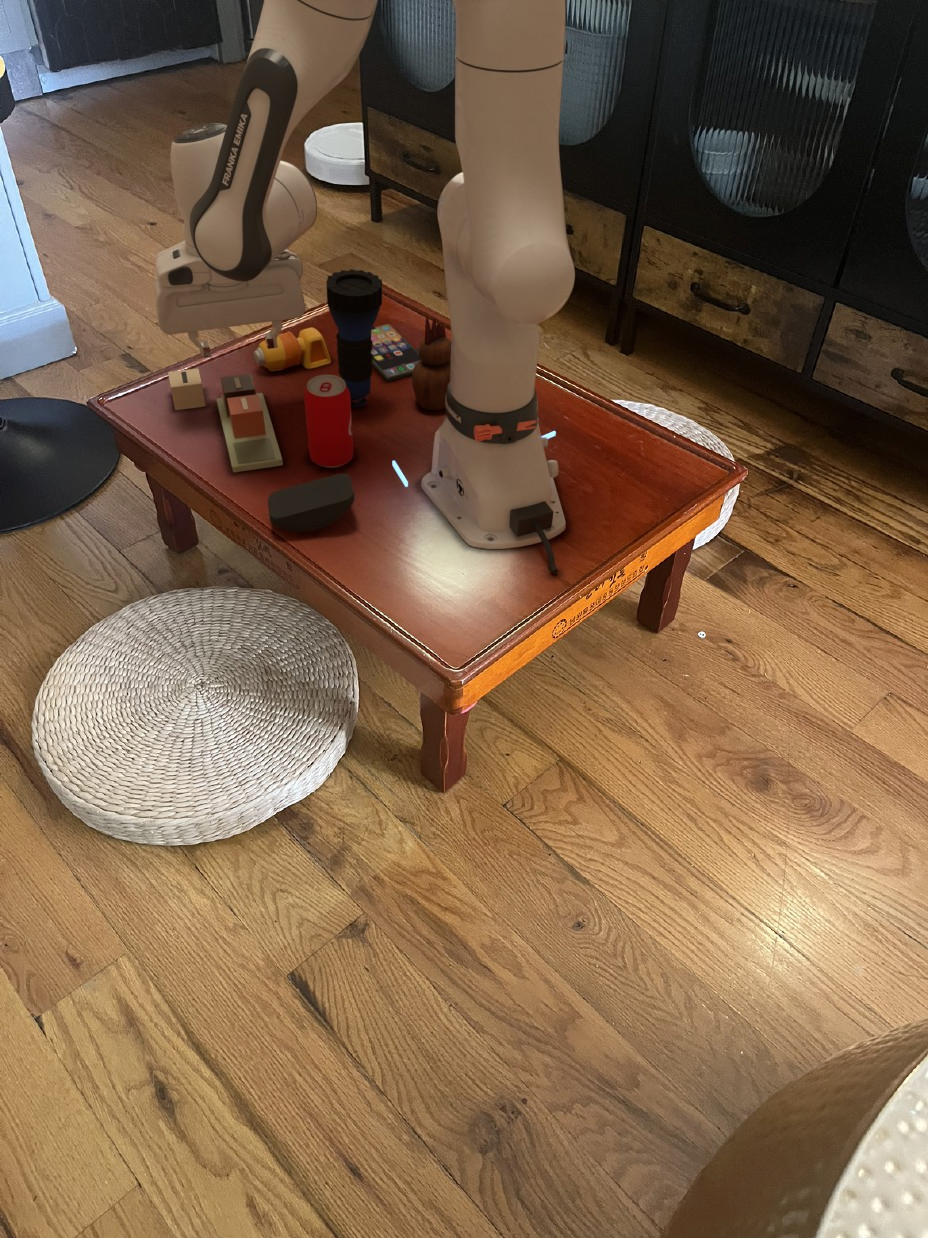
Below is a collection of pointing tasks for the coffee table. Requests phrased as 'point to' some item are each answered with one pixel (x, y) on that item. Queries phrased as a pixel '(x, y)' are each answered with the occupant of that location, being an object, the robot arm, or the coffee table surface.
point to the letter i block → (186, 389)
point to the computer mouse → (311, 504)
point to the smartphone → (392, 353)
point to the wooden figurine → (432, 368)
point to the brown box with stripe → (237, 387)
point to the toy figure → (294, 351)
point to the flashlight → (354, 326)
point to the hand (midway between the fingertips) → (239, 350)
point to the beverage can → (329, 421)
